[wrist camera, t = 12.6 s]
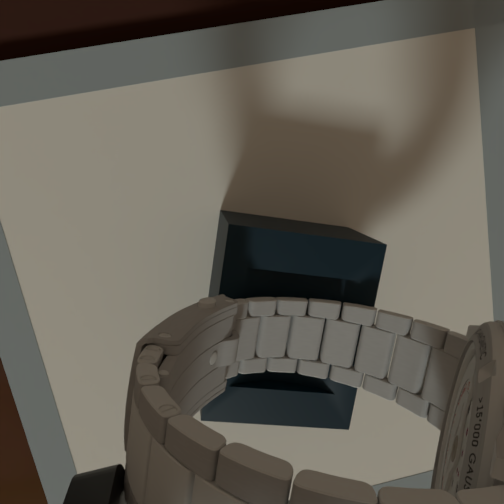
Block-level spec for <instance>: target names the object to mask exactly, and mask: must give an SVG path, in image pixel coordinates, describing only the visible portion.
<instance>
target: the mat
mask: <svg viewBox="0 0 504 504" xmlns="http://www.w3.org/2000/svg"><path fill="white" fill-rule="evenodd" d="M220 210H225V211H232V212H239V213H247V214H254V215H261V216H269V217H276V218H284V219H291V220H298V221H306V222H313V223H321V224H328V225H335V226H343V227H349V228H351V229H353V230H356V231H358V232H360V233H362V234H364V235H367V236H369V237H371V238H373V239H376V240H378V241H380V242H382V243H385V244H387V248H386V253H385V257H384V262H383V267H382V272H381V277H380V282H379V287H378V291H377V296H376V301H375V306H374V307H375V308H377V313H376V318H375V323H376V319H377V314H378V310H380V309H381V310H386V311H391V312H395V313H399V314H403V315H407V316H411V317H413V321H414V320H415V319H419V320H422V321H426V322H429V323H432V324H436V325H439V326H442V327H445V328H448V329H450V331H454V332H457V333H460V334H463V335H465V336H466V334H467V330H468V326H470V325H481V324H483V323H484V322H489V321H497V320H499V321H504V0H384V1H377V2H371V3H365V4H358V5H352V6H346V7H339V8H333V9H327V10H320V11H314V12H308V13H301V14H295V15H288V16H282V17H276V18H269V19H263V20H257V21H250V22H244V23H238V24H231V25H225V26H219V27H212V28H206V29H200V30H193V31H187V32H180V33H174V34H168V35H161V36H155V37H149V38H142V39H136V40H130V41H123V42H117V43H111V44H104V45H98V46H92V47H85V48H79V49H73V50H66V51H60V52H53V53H47V54H41V55H34V56H28V57H22V58H15V59H9V60H3V61H0V357H1V360H2V363H3V366H4V369H5V372H6V375H7V378H8V381H9V385H10V388H11V391H12V394H13V397H14V400H15V403H16V406H17V409H18V412H19V415H20V418H21V421H22V424H23V428H24V431H25V434H26V437H27V440H28V443H29V446H30V449H31V452H32V455H33V458H34V461H35V464H36V467H37V471H38V474H39V477H40V480H41V483H42V486H43V489H44V492H45V495H46V498H47V501H48V504H63V502H64V499H65V496H66V493H67V490H68V488H69V485H70V482H71V480H72V478H73V476H74V475H76V474H80V473H84V472H88V471H92V470H96V469H100V468H104V467H108V466H112V465H117V464H122V466H123V467H124V469H125V465H126V451H125V448H124V421H125V408H126V399H127V391H128V384H129V378H130V372H131V367H132V362H133V357H134V352H135V348H136V343H137V342H138V341H139V340H140V339H141V338H142V337H143V336H144V335H145V334H147V333H148V332H149V331H150V330H151V329H153V328H154V327H155V326H157V325H158V324H159V323H161V322H162V321H163V320H165V319H166V318H168V317H169V316H171V315H172V314H174V313H176V312H178V311H179V310H181V309H183V308H186V307H188V306H190V305H192V304H195V303H197V302H199V300H200V299H201V298H206V297H208V294H209V287H210V280H211V272H212V265H213V258H214V251H215V243H216V236H217V229H218V222H219V214H220ZM375 323H374V325H375ZM412 325H413V323H412ZM411 329H412V328H411ZM410 334H411V332H410ZM396 338H397V334H396ZM395 343H396V339H395ZM394 348H395V344H394ZM394 348H393V352H394ZM392 357H393V353H392ZM392 357H391V361H392ZM390 366H391V362H390ZM389 370H390V367H389ZM388 375H389V371H388ZM364 376H365V373H364ZM364 376H363V381H364ZM387 378H388V376H387ZM363 381H362V385H361V387H359V388H357V393H356V398H355V403H354V408H353V413H352V418H351V422H350V427H349V430H344V429H328V428H311V427H295V426H278V425H262V424H245V423H229V422H213V421H201V416H200V410H199V411H198V412H197V413H196V414H195V415H194V416H193V418H195V419H196V420H198V421H199V422H201V423H202V424H204V425H206V426H207V427H209V428H211V429H213V430H214V431H216V432H218V433H220V434H221V435H223V436H224V437H225V439H226V440H227V441H226V445H227V444H230V443H234V442H237V443H242V444H244V445H247V446H249V447H251V448H254V449H256V450H258V451H261V452H264V453H266V454H269V455H272V456H274V457H277V458H280V459H283V460H285V461H287V462H289V463H290V464H291V465H292V467H293V477H292V483H291V488H290V493H289V499H288V500H290V497H291V491H292V486H293V481H294V479H295V477H296V475H297V474H298V473H299V472H300V471H301V470H305V469H308V470H314V471H318V472H322V473H326V474H330V475H334V476H338V477H343V478H348V479H353V480H358V481H363V482H366V483H368V484H369V485H371V486H372V487H373V489H374V490H375V493H376V496H378V491H379V490H380V489H381V488H382V487H386V486H391V487H403V488H418V489H430V488H431V482H432V475H433V469H434V463H435V457H436V452H437V447H438V442H439V437H440V432H441V431H440V430H439V429H437V428H436V427H434V426H433V425H432V424H430V423H429V422H428V421H427V418H421V417H419V416H417V415H415V414H414V413H412V412H410V411H408V410H407V409H405V408H403V407H401V406H399V405H398V404H397V403H396V399H395V400H393V401H389V400H386V399H384V398H382V397H379V396H377V395H375V394H372V393H370V392H367V391H365V390H364V389H363V387H362V386H363ZM398 388H399V386H398ZM397 392H398V390H397ZM396 397H397V395H396Z"/></svg>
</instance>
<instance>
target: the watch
mask: <svg viewBox="0 0 504 504" xmlns="http://www.w3.org/2000/svg"><path fill="white" fill-rule="evenodd" d="M386 248H387V244H385V243H382V242H380V241H378V240H376V239H373V238H371V237H369V236H367V235H364V234H362V233H360V232H358V231H356V230H353V229H351V228H349V227H343V226H335V225H328V224H321V223H313V222H306V221H298V220H291V219H284V218H276V217H269V216H261V215H254V214H247V213H239V212H232V211H225V210H220V214H219V222H218V229H217V236H216V243H215V251H214V258H213V265H212V272H211V280H210V287H209V294H208V297H206V298H201V299H200V300H199V302H197V303H195V304H192V305H190V306H188V307H186V308H183V309H181V310H179V311H178V312H176V313H174V314H172V315H171V316H169V317H168V318H166V319H165V320H163V321H162V322H161V323H159V324H158V325H157V326H155V327H154V328H153V329H151V330H150V331H149V332H148V333H147V334H145V335H144V336H143V337H142V338H141V339H140V340H139V341H138V342H137V343H136V348H135V352H134V357H133V362H132V367H131V372H130V378H129V384H128V391H127V399H126V408H125V421H124V448H125V451H126V465H125V474H124V496H125V501H126V502H127V503H128V504H504V321H499V320H497V321H489V322H484V323H483V324H481V325H470V326H468V330H467V334H466V336H465V335H463V334H460V333H457V332H454V331H450V329H448V328H445V327H442V326H439V325H436V324H432V323H429V322H426V321H422V320H419V319H415V320H414V321H413V317H411V316H407V315H403V314H399V313H395V312H391V311H386V310H381V309H380V310H378V314H377V319H376V323H375V318H376V313H377V308H375V307H374V306H375V301H376V296H377V291H378V287H379V282H380V277H381V272H382V267H383V262H384V257H385V253H386ZM374 323H375V325H374ZM412 323H413V325H412ZM411 328H412V329H411ZM410 332H411V334H410ZM396 334H397V338H396ZM395 339H396V343H395ZM394 344H395V348H394ZM393 348H394V352H393ZM392 353H393V357H392ZM391 357H392V361H391ZM390 362H391V366H390ZM389 367H390V370H389ZM388 371H389V375H388ZM364 373H365V376H364ZM363 376H364V381H363ZM387 376H388V378H387ZM362 381H363V386H362V387H363V389H364V390H365V391H367V392H370V393H372V394H375V395H377V396H379V397H382V398H384V399H386V400H389V401H393V400H395V399H396V403H397V404H398V405H399V406H401V407H403V408H405V409H407V410H408V411H410V412H412V413H414V414H415V415H417V416H419V417H421V418H427V421H428V422H429V423H430V424H432V425H433V426H434V427H436V428H437V429H439V430H440V431H441V432H440V437H439V442H438V447H437V452H436V457H435V463H434V469H433V475H432V482H431V488H430V489H418V488H403V487H391V486H386V487H382V488H381V489H380V490H379V491H378V496H376V493H375V490H374V489H373V487H372V486H371V485H369V484H368V483H366V482H363V481H358V480H353V479H348V478H343V477H338V476H334V475H330V474H326V473H322V472H318V471H314V470H308V469H305V470H301V471H300V472H299V473H298V474H297V475H296V477H295V479H294V481H293V486H292V491H291V497H290V500H288V499H289V493H290V488H291V483H292V477H293V467H292V465H291V464H290V463H289V462H287V461H285V460H283V459H280V458H277V457H274V456H272V455H269V454H266V453H264V452H261V451H258V450H256V449H254V448H251V447H249V446H247V445H244V444H242V443H237V442H234V443H230V444H227V445H226V441H227V440H226V439H225V437H224V436H223V435H221V434H220V433H218V432H216V431H214V430H213V429H211V428H209V427H207V426H206V425H204V424H202V423H201V422H199V421H198V420H196V419H195V418H193V416H194V415H195V414H196V413H197V412H198V411H199V410H200V416H201V421H213V422H229V423H245V424H262V425H278V426H295V427H311V428H328V429H344V430H349V427H350V422H351V418H352V413H353V408H354V403H355V398H356V393H357V388H359V387H361V385H362ZM398 386H399V388H398ZM397 390H398V392H397ZM396 395H397V397H396Z"/></svg>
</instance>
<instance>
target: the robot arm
mask: <svg viewBox="0 0 504 504" xmlns="http://www.w3.org/2000/svg"><path fill="white" fill-rule="evenodd" d="M124 474H125V469H124V467H123V466H122V464H117V465H112V466H108V467H104V468H100V469H96V470H92V471H88V472H84V473H80V474H76V475H74V476H73V478H72V480H71V482H70V485H69V488H68V490H67V493H66V496H65V499H64V502H63V504H128V503H127V502H126V501H125V496H124Z"/></svg>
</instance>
